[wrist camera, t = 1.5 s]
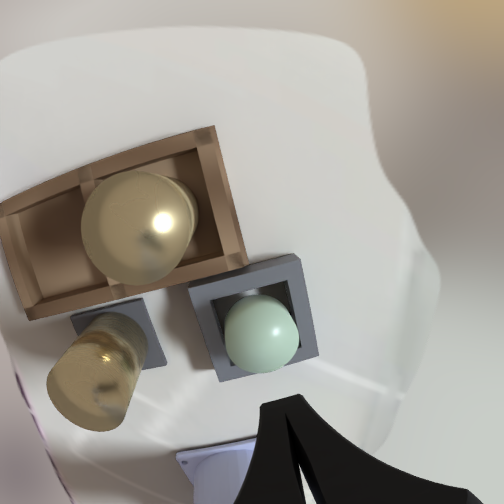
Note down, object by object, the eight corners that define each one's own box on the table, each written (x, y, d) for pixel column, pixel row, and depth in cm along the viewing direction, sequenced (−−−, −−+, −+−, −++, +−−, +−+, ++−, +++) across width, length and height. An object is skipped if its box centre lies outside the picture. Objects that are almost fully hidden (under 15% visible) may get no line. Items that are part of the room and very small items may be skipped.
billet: (157, 364, 18) (139, 428, 12) (102, 373, 18) (71, 433, 12) (134, 305, 17) (102, 356, 12) (77, 318, 17) (32, 367, 11)
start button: (295, 344, 18) (304, 362, 16) (234, 361, 18) (236, 380, 16) (282, 286, 17) (291, 299, 15) (216, 304, 17) (216, 319, 15)
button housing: (312, 344, 20) (319, 355, 18) (219, 369, 19) (219, 382, 18) (293, 253, 18) (300, 259, 17) (190, 280, 18) (187, 288, 16)
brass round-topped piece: (207, 240, 17) (203, 269, 11) (137, 259, 17) (100, 296, 11) (188, 166, 16) (172, 156, 10) (117, 188, 16) (69, 190, 10)
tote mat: (167, 362, 19) (166, 365, 18) (99, 374, 19) (97, 377, 18) (142, 297, 18) (141, 300, 17) (72, 315, 18) (70, 317, 17)
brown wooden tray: (248, 261, 18) (252, 271, 16) (41, 314, 17) (27, 326, 15) (214, 127, 16) (214, 119, 14) (7, 201, 16) (-11, 203, 14)
